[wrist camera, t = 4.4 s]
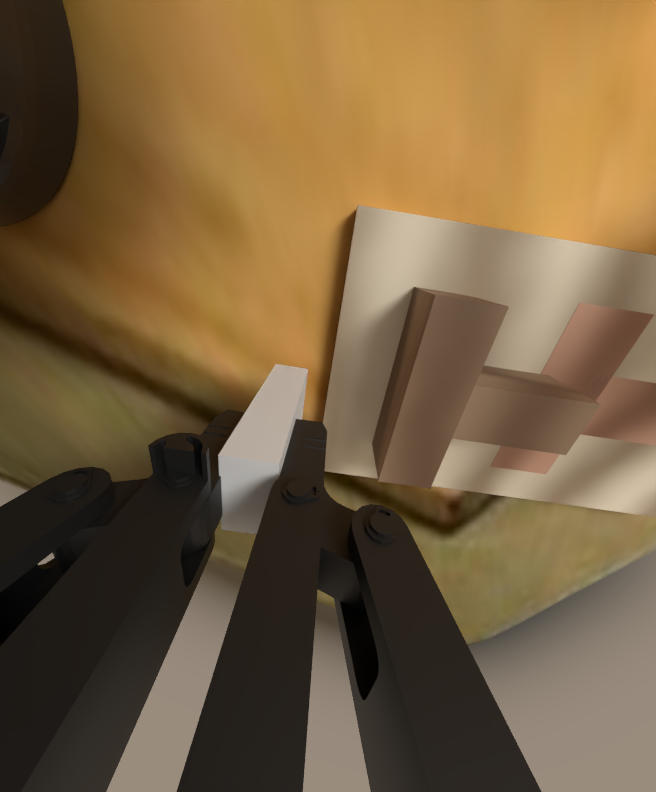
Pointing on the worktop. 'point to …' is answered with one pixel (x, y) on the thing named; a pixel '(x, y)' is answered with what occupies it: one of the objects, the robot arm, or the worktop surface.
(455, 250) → the birch board
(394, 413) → the walnut T block
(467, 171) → the worktop surface
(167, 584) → the robot arm
